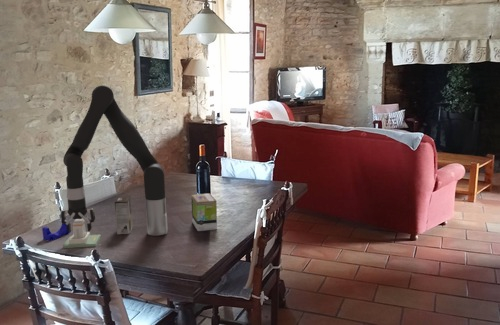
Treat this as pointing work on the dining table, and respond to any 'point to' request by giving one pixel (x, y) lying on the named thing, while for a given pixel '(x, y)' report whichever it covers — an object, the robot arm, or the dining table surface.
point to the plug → (79, 229)
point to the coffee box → (123, 215)
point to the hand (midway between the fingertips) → (79, 231)
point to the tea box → (204, 212)
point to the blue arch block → (52, 236)
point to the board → (82, 241)
